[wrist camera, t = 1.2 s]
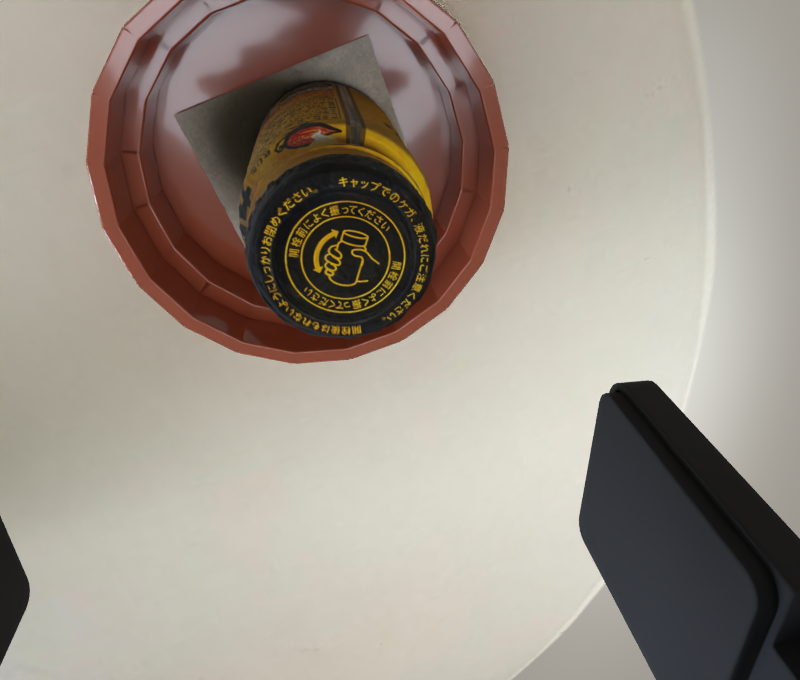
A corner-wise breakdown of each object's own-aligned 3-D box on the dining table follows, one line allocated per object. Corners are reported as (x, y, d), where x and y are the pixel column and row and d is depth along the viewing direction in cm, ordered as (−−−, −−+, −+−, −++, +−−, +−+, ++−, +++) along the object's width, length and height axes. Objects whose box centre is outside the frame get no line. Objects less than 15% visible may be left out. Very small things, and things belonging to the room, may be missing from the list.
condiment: (425, 199, 28) (495, 319, 18) (255, 266, 29) (229, 421, 19) (367, 33, 25) (414, 65, 14) (174, 113, 25) (86, 200, 15)
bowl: (81, -46, 23) (29, -55, 18) (485, -47, 24) (525, -55, 20) (163, 321, 30) (139, 376, 26) (468, 300, 32) (493, 349, 28)
